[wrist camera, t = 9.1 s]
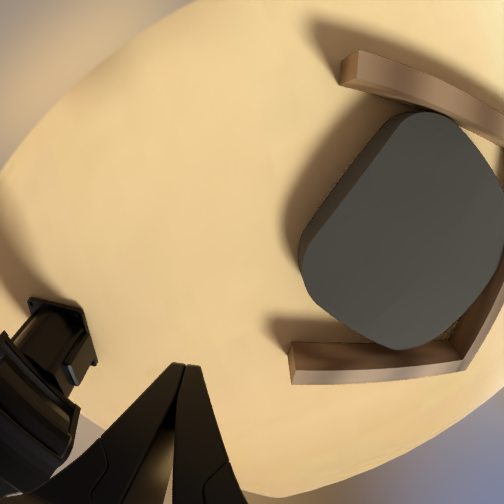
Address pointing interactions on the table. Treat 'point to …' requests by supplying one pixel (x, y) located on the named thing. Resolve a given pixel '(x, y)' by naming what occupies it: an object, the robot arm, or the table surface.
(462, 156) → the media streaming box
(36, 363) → the robot arm
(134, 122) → the table surface
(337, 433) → the table surface
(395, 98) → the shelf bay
